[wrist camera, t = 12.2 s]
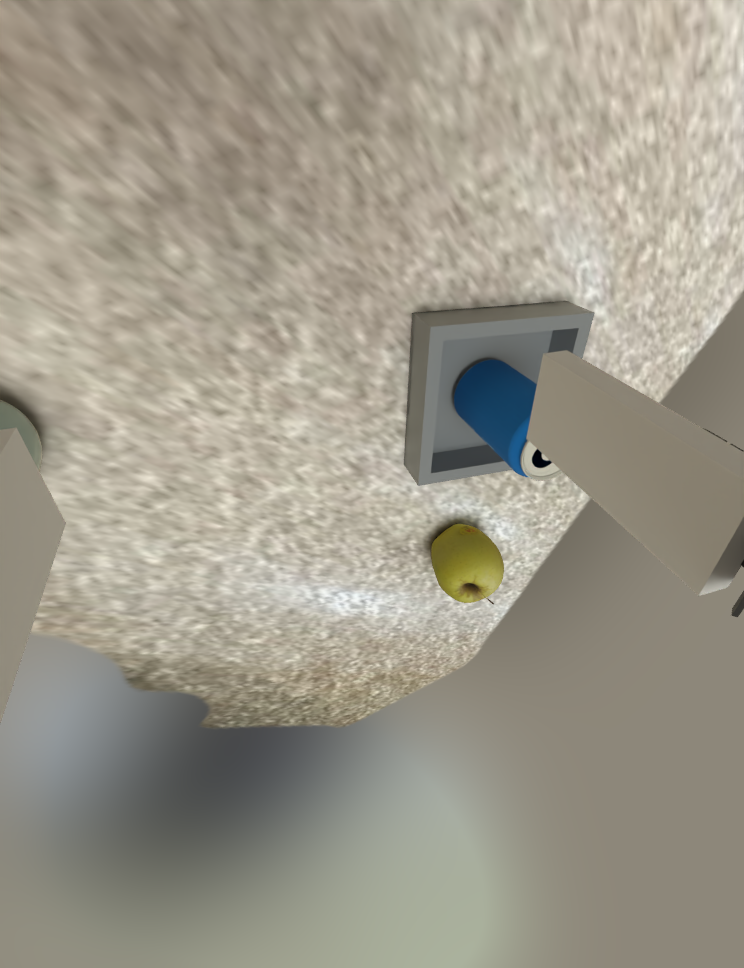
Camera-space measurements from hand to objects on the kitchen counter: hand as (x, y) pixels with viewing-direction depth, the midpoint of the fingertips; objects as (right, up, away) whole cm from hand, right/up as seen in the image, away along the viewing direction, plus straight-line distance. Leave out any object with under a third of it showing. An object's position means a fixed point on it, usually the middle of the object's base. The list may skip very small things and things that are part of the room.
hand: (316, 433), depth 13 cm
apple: (+11, -8, +46) cm, 48 cm away
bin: (+12, +8, +35) cm, 37 cm away
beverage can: (+12, +8, +34) cm, 37 cm away
